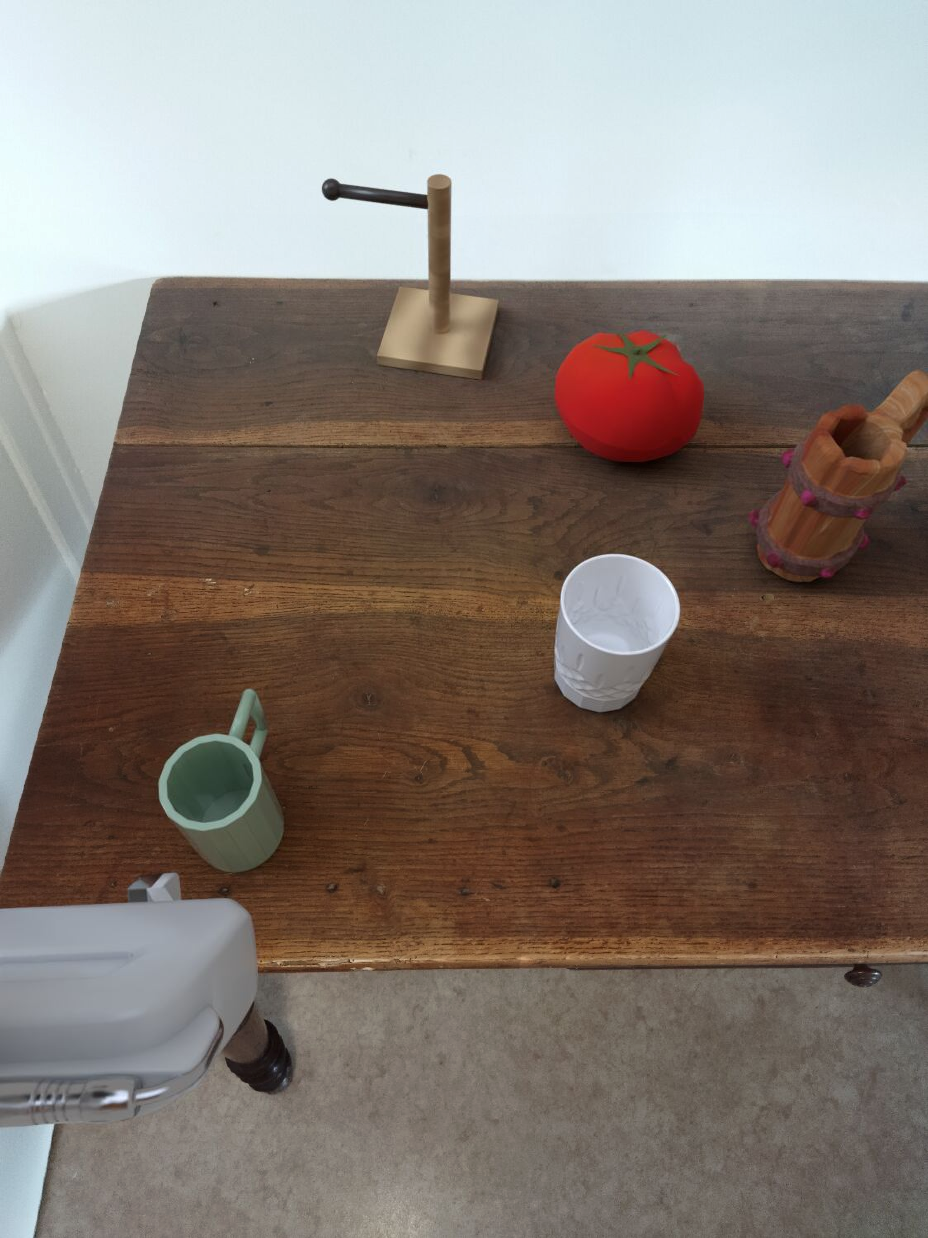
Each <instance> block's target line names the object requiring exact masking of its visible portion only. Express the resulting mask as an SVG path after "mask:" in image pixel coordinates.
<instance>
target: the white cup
mask: <svg viewBox="0 0 928 1238" xmlns="http://www.w3.org/2000/svg"><path fill="white" fill-rule="evenodd" d="M680 615H681V604H680V599H679V595H678V593H677V590H676V588H675V586H674V584H673V583H672V582H671V581H670V579H669V578H668V576H666V574H665V573H663V571H661V570H660V569H659V568H658V567H656V566H655V565H653V564H652V563H650V562H648V561H646V560H644V559H642V558H640V557H636V556H632V555H627V554H621V553H608V554H600V555H596V556H593V557H590V558H588V559H586V560H583V561H582V562H580V563H579V564H578V565H577V566H575V567H574V568H573V569H572V570H571V572H569V574H568V575H567V576H566V578H565V580H564V582H563V585H562V587H561V591H560V597H559V605H558V612H557V621H556V628H555V638H554V639H555V640H554V651H553V652H554V659H553V671H554V672H553V674H554V676H553V677H554V681H555V682H556V684H557V686H558V688H559V690H560V691H561V693H562V695H563V696H564V697H565V698H566V699H567V700H569V701H570V702H572V703H573V704H574V705H576V706H577V707H578V708H579V709H580V708H581V709H584V710H588V711H592V712H596V713H604V712H605V713H606V712H610V711H617V710H620V709H622V708H623V707H625V706H626V705H628V704H629V703H630V702H632V701H633V700H634V699H635V698H636V697H637V695H638V693H639V692H640V690H641V688H642V686H643V685H644V683H645V682H646V681H647V680H648V679H649V678H650V675H651V673H652V672H653V670H654V668H655V667H656V665H657V664H658V662H659V660H660V658H661V656H662V655H663V652H664V651H665V649H666V648H667V645H668V643H669V641H670V640H671V638H672V636H673V634H674V632H675V630H676V629H677V626H678V625H679V621H680V617H681V616H680Z"/></svg>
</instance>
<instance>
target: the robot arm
mask: <svg viewBox="0 0 928 1238" xmlns="http://www.w3.org/2000/svg"><path fill="white" fill-rule="evenodd" d="M180 883H181V882H180V876H179V874H178V873H177V872H166V873H165V872H161V873H159V872H158V873H145V874H140V875H139V876H138V877H137V880H136V881H133V882H132V883H131V884H130V885H129V886H128V888H127V899H128V902H115V903H94V904H71V905H53V906H52V905H51V906H50V905H49V906H31V907H9V908H0V1128H1V1129H2V1128H25V1127H33V1126H40V1125H42V1126H43V1125H63V1124H65V1125H66V1124H92V1125H93V1124H94V1125H101V1124H102V1125H104V1124H115V1123H119V1122H124V1121H127V1120H132V1119H137V1118H142V1117H145V1116H148V1115H151V1114H154V1113H156V1112H158V1111H161V1110H163V1109H165V1108H167V1107H169V1106H170V1105H172V1104H173V1103H175V1102H176V1101H178V1100H179V1099H180V1098H181V1097H183V1096H184V1095H186V1094H188V1093H191V1092H193V1091H194V1090H195V1089H197V1088H198V1086H200V1085H201V1084H202V1082H203V1081H204V1079H205V1078H206V1077H207V1075H208V1074H209V1072H210V1070H211V1067H212V1066H213V1064H214V1062H215V1061H216V1059H217V1058H218V1057H219V1055H220V1054H221V1053H222V1051H223V1050H224V1048H225V1047H226V1046H227V1044H228V1043H229V1042H230V1040H231V1039H232V1038H233V1035H235V1034H236V1031H237V1030H238V1029H239V1027H240V1025H241V1024H242V1023H243V1021H244V1019H245V1017H246V1016H247V1015H248V1013H249V1011H250V1009H251V1007H252V1005H253V1003H254V1002H255V999H256V996H257V993H258V987H259V967H258V954H257V953H258V952H257V942H256V934H255V929H254V923H253V920H252V916H251V914H250V912H249V911H248V909H246V908H245V907H244V906H243V905H242V904H240V903H239V902H238V901H236V900H235V899H233V898H227V897H213V898H199V899H197V898H196V899H182V892H181V884H180Z"/></svg>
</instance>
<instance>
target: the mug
mask: <svg viewBox="0 0 928 1238" xmlns="http://www.w3.org/2000/svg"><path fill="white" fill-rule="evenodd" d="M927 419H928V373H925V372H924V371H922V370H920V369H916V370H912V371H911V372H910V373H908V374H907V375H906V376H904V378H903V379H902V380H901V381H900V383H898V385H896V387H894V389H893V390H892V391H891V392H890V393H889V395H888V396H887V397H886V398H885V399H884V400H883V401H882V402H881V403H880V405H878V406H877V407H876V408H875V409H873V410H872V411H871V412H869V411H867V409H866V407H864V406H863V405H860V404H846V405H843V406H841V407H840V408H838V409H837V410H836V411H832V410H831V411H827V412H825V413H824V414H823V415H822V416H821V417H820V418H819V420H818V422H817V424H816V425H815V426H814V428H813V430H811V431H810V432H808V433H807V434H806V435H804V436H803V437H802V438H801V439H800V440H799V442H797V445H796V446H795V448H790V449H787V450H784V451H783V453H782V454H781V456H780V460H781V462H782V464H783V466H784V467H785V468H787V478H786V481H785V483H784V485H783V487H782V489H780V490H779V491H777V492H775V493H774V494H773V495H772V496H771V497H770V498H769V499H768V500H767V501H766V502H765V503H764V505H763V507H762V508H761V509H753V510H752V511H750V512H749V514H748V520H749V522H750V524H751V525H752V526H753V527H754V528H755V534H756V540H757V545H756V550H757V555H758V559H759V560H760V562H761V563H762V565H763V566H764V567H765V568H766V569H767V570H768V571H771V572H773V573H774V574H775V576H776V575H777V576H778V577H780V578H782V579H784V580H786V581H791V582H797V583H803V582H806V583H810V582H812V581H814V580H816V579H818V578H823V579H829V578H832V577H833V576H834V575H835V574H836V572H838V571H839V570H841V569H842V568H844V567H845V566H846V565H847V564H848V563H849V561H850V560H851V559H852V558H853V556H854V555H855V553H856V552H857V550H858V551H859V550H863V549H865V548H867V547H868V546H869V543H870V538H869V536H868V534H866V533H865V528H864V527H865V526H864V523H865V522H866V521H867V519H870V518H871V517H872V514H873V513H874V512H875V511H876V510H878V509H879V508H882V506H883V505H884V504H885V503H886V502H888V500H889V498H890V497H891V495H892V494H893V492H896V491H899V490H901V489H902V488H903V487H904V486H905V485H906V484H907V479H906V477H905V476H904V475H903V474H902V472H901V467H902V465H903V463H904V462H905V460H906V458H907V453H908V445H909V444H910V442H911V441H912V440H913V438H914V437H915V436H916V434H917V433H918V432H919V430H920V429H921V428H922V427H923V425H924V423H925V422H926V421H927Z"/></svg>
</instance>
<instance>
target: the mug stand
mask: <svg viewBox="0 0 928 1238" xmlns="http://www.w3.org/2000/svg"><path fill="white" fill-rule="evenodd" d="M452 184H453V183H452V179H451V178H450V177H449V175H446V174H442V173H437V174H436V173H435V174H433V175H430V176H429V177H428V178H427V180H426V193H425V194H424V193H416V192H409V191H408V192H407V191H402V190H394V189H387V188H385V189H384V188H378V187H370V186H363V185H355V184H347V183H341V182H340V181H338V180H337V179H336V178H327V179H325V180H324V181H323V183H322V185H321V193H322V195H323V197H324V198H325V199H326V200H327V201H330V202H335V201H337V200H339V199H346V200H350V201H351V200H353V201H359V202H367V203H376V204H384V205H390V206H397V207H399V206H400V207H405V208H413V209H421V210H426V211H427V270H428V271H427V273H428V281H427V282H428V289H423V288H415V287H408V286H399V288H398V291H397V294H396V297H395V299H394V303H393V306H392V309H391V311H390V316H389V318H388V321H387V324H386V327H385V330H384V333H383V336H382V339H381V342H380V344H379V349H378V351H377V353H376V362H377V365H378V366H382V367H383V366H384V367H390V368H398V369H403V370H404V369H405V370H412V371H417V372H423V373H424V372H425V373H432V374H439V375H445V376H453V377H459V378H466V379H473V380H483V377H484V373H485V368H486V364H487V359H488V355H489V352H490V348H491V343H492V340H493V334H494V331H495V327H496V324H497V323H496V322H497V318H498V314H499V309H500V308H499V307H500V300H499V299H496V298H489V297H488V298H487V297H480V296H473V295H467V294H459V293H452V292H451V284H452V283H451V280H452V279H451V277H452V275H451V273H452V272H451V271H452V266H451V265H452V188H453V187H452Z"/></svg>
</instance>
